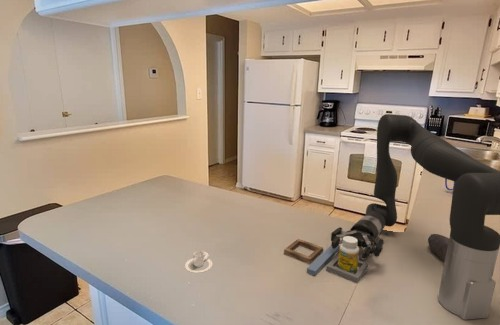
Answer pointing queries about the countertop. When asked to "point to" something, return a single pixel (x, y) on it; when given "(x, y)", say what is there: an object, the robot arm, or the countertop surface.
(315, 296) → the countertop surface
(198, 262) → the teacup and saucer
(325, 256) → the door sill
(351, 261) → the supplement bottle
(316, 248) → the holder
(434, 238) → the perforated stone tool
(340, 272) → the holder open
